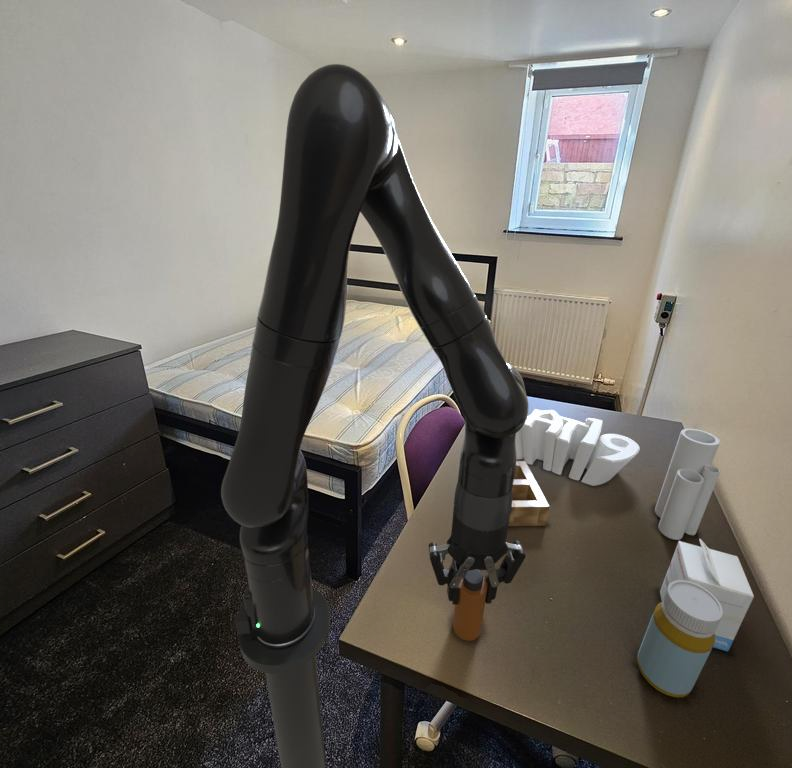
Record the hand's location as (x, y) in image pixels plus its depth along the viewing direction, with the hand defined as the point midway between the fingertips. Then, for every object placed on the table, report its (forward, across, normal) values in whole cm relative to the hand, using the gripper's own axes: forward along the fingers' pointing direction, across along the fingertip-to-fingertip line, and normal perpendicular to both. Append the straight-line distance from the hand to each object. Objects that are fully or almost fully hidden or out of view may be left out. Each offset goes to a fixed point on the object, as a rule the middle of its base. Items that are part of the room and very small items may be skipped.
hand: (470, 598), depth 62 cm
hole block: (+6, -16, -30) cm, 35 cm away
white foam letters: (+6, -33, -47) cm, 58 cm away
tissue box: (+6, -37, 0) cm, 38 cm away
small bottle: (+6, 0, 0) cm, 6 cm away
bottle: (+6, -27, +8) cm, 29 cm away
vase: (+6, -49, -22) cm, 54 cm away
